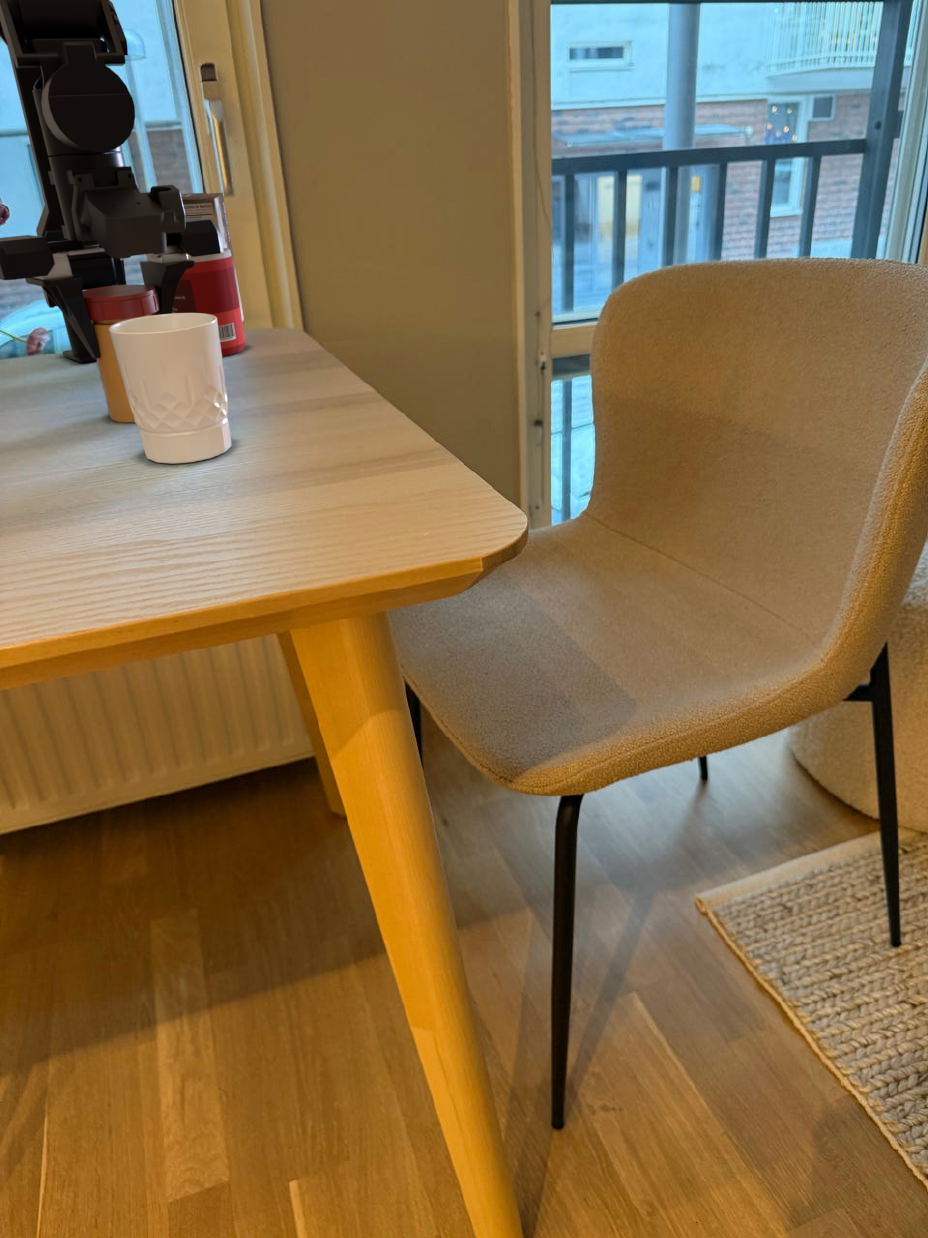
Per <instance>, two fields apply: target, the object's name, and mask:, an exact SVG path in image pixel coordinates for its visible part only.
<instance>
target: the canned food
mask: <svg viewBox="0 0 928 1238" xmlns="http://www.w3.org/2000/svg"><path fill="white" fill-rule="evenodd" d="M223 250H224V253H221V254H213V255H205V256H197V257H191V256H190V255H189V254H188V253H187V255H188V260H191V261H196V262H195V267H193V268H188V269H187V270H186V271H185V272H184V274H183V276H182V277H181V279H180V281H179V283H178V286H177V290H176V294H175V298H174V304H173V311H172V314H174V313H204V314H210V315H214V316H216V317H217V321H218V329H219V337H220V345H221V352H222V358H223V357H228V356H232V355H236V354H238V353H241V352H242V351H243V350H244V349H245V347H246V346H245V345H246V337H245V330H244V324H243V323H244V322H243V323H242V317H241V310H240V304H239V297H238V291H237V285H236V278H235V272H234V266H233V261H232V255H231V252H230V249H227V248H223Z"/></svg>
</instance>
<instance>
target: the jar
mask: <svg viewBox="0 0 928 1238" xmlns="http://www.w3.org/2000/svg"><path fill="white" fill-rule="evenodd" d="M153 315H156V314H154V313H153V314H149V315H145V316H141V317H146V316H153ZM135 318H140V317H135ZM130 319H134V318H129V319H120V320H99V321H98V320H91V322H92V325H93V328H94V332H95V335H96V338H97V341H98V346H99V352H100V358H97V359H96V360H95V361H96V365H97V368H98V372H99V376H100V380H101V385H102V389H103V394H104V397H105V402H106V406H107V410H108V414H109V419H111V420H112V421H114V422H118V423H135V420H134V415H133V413H132V410H131V407H130V404H129V401H128V397H127V394H126V390H125V386H124V383H123V379H122V375H121V372H120V368H119V365H118V361H117V357H116V354H115V350H114V347H113V343H112V340H111V336H110V333H109V327H110V326H112V325H114V324H116V323H119V322H122V321H126V320H130Z"/></svg>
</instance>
